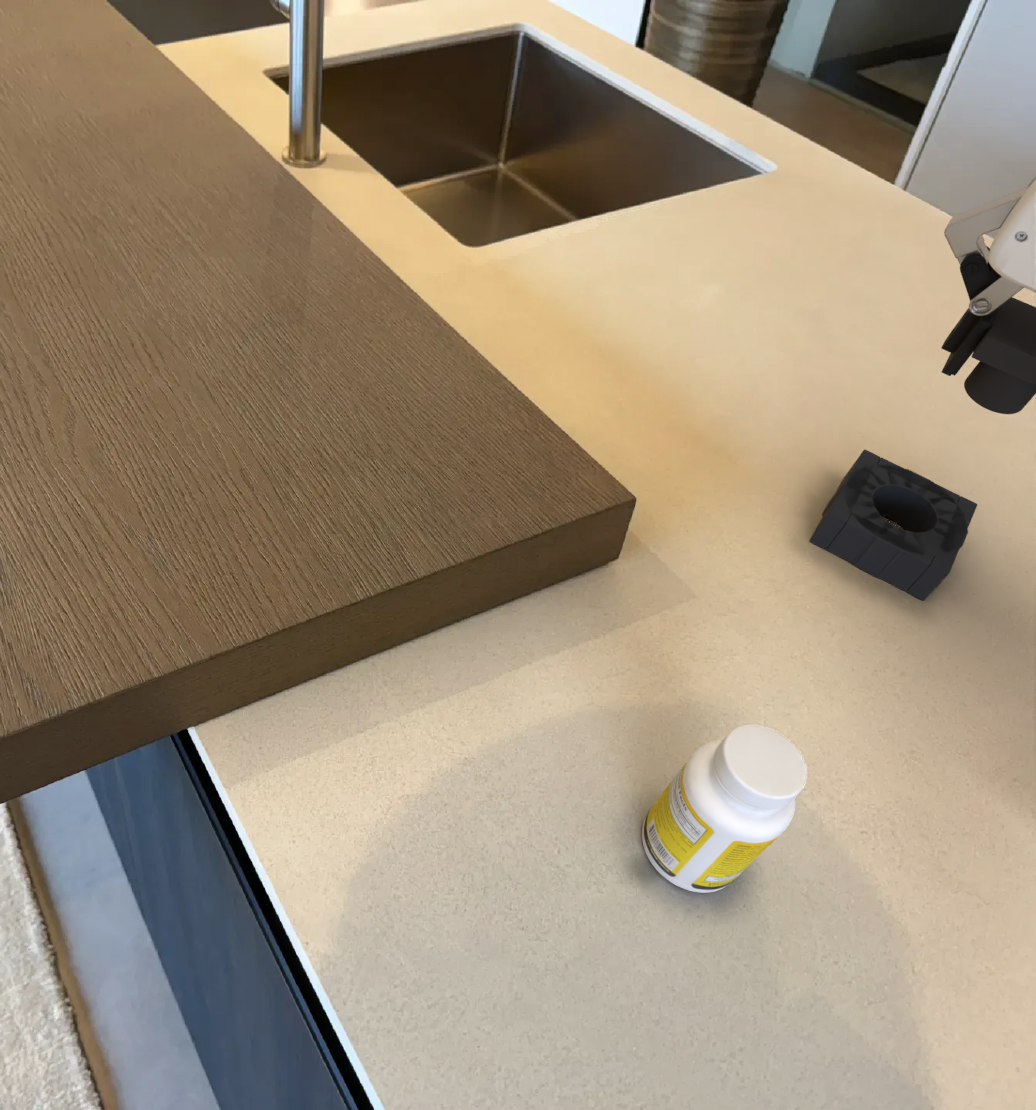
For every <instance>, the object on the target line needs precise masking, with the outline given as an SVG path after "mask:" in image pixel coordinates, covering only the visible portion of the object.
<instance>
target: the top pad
mask: <svg viewBox="0 0 1036 1110" xmlns="http://www.w3.org/2000/svg"><path fill="white" fill-rule="evenodd" d="M971 358H972V359H974V360H977V361H978V363H977V364H976V366H975V367H974V368H973V369H972V370H971V372H970V373H969V375H968V376H967V377H966V378H965V380H964V383H963V384H964V385H963V388H964V390H965V393H966V394H967V396H968V397H969V398H970V399H971V400H972V401H973V402H975V403H976V404H977V405H978V406H980V407H982V408H984V409H986V410H988V411H991V412H993V413H996V414H1001V415H1015V414H1017V413H1019V412H1021V411H1022V410H1023V409H1024V408H1025V407H1026V406H1027V404H1028V403H1029V402H1030V401H1032V399H1033V398H1034V397H1035V395H1036V306H1035V305H1032V304H1029V303H1027V302H1024V301H1022V300H1020V299H1018V298H1015V297H1014V296H1012V297H1011V298H1010V299H1008V300H1007V301H1006V302H1004V304H1003V306H1002V308H1001V310H1000V312H999V315H998V317H997V319H996V321H995V323H994V325H993V327H991V328H990V329H989V331H988V332H987V333H986V335H985V336H984V337H983V339H982V340H981V341H980V343H979V344H978V345H977V346H976V348H975V350H974V352H973V353H972V354H971Z"/></svg>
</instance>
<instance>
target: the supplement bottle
mask: <svg viewBox="0 0 1036 1110" xmlns="http://www.w3.org/2000/svg"><path fill="white" fill-rule="evenodd" d="M796 745H797V744H795V743H794V742H793V741H792V740H791V739H790V738H789V737H787V736H786V735H784V734H783V733H782V732H780V731H778V730H776V729H774V728H772V727H769V726H766V725H763V724H759V723H758V724H757V723H747V724H742V725H739V726H737V727H734V728H733V729H731V730H730V731H729V732H728V734H726V736H725V737H724V738H723V739H717V740H712V741H709V742H707V743H705V744H703V745H702V746H700V747H698V748H697V749H696V750H695V751H694V752H693V753H692V755H690V756H689V757H688V759H687V760H686V762H685V763H684V764H683V766H682V767H681V768H680V770H679V771H678V772H677V774H676V775H675V776H674V777H673V778H672V780H671V781H670V783H669V784H668V785H667V786H666V788H665V789H664V790H663V791H662V793H661V794H660V796H659V797H658V798H657V800H656V801H655V802H654V804H653V805H652V806H651V808H649V810H648V812H647V814H646V816H645V817H644V820H643V824H642V830H641V839H642V840H641V841H642V845H643V849H644V852H645V854H646V857H647V858H648V860H649V862H650V863H651V865H652V866H653V867H654V868H655V870H656V871H657V872H658V873H659V874H660V875H661V876H662V877H663V878H664V879H665V880H667V881H668V882H670V883H671V884H672V885H675V886H676V887H679V888H681V889H683V890H685V891H689V892H694V893H699V894H700V893H702V894H703V893H704V894H705V893H714V892H717V891H720V890H723V889H724V888H726V887H728V886H729V885H730V884H731V883H733V882H734V881H735V880H736V879H737V878H738V877H739V876H740V875H741V874H742V873H743V872H744V871H745V870H746V869H747V868H748V867H749V866H750V865H751V864H752V863H753V862H754V861H755V860H756V859H757V858H758V857H759V856H760V855H761V854H762V853H763V852H764V851H766V849H767V848H769V846H770V845H772V843H773V842H775V841H776V840H777V839H778V838H779V837H780V836H781V835H782V834H783V833H784V832H785V831H786V829H788V827H789V826H790V824H791V823H792V821H793V818H794V816H795V810H796V805H797V803H796V797H797V796H798V795H799V794H800V793H801V792H802V791H803V790H804V787H805V786H806V783H807V780H808V766H807V763H806V760H805V758H804V756H803V753H802V752H801V750H800V749H799V748H798V746H796Z"/></svg>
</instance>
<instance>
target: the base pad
mask: <svg viewBox="0 0 1036 1110" xmlns="http://www.w3.org/2000/svg"><path fill="white" fill-rule="evenodd" d="M977 508H978V503H976V502H974V501H972V500H971V499H968V498H966V497H964V496H961V495H960V494H958V493H956V492H953V491H952V490H951V489H948V488H947V487H946V488H945V487H944V486H941V485H939V484H938V483H935V482H934V481H932V480H931V479H928V478H926V477H925V476H924V475H921V474H918V473H916V472H915V471H912V470H911V469H908V468H904V467H902V466H900V465H898V464H897V463H894V462H893V461H890V460H888V459H886V458H884V457H881V456H879V455H878V454H876V453H874V452H871V451H870V450H867V449H863V450H862V452H861V453H860V454H859V456H858V457H857V459H856V460H855V461H854V462H853V464H852V466H851V467H850V468H849V470H848V471H847V472H846V474H845V475H844V477H843V478H842V480H841V482H840V484H839V486H838V487H837V489H836V491H835V492H834V494H833V495H832V496H831V498H830V499H829V500H828V503H827V505H826V506H825V508H824V509H823V512H822V514H821V515H822V517H821V519H820V520H819V522H818V524H817V526H816V527H815V528H814V531H813V533H812V535H811V537H810V538H809V542H810V543H812V544H814V545H816V546H818V547H820V548H821V549H823V550H826V551H827V552H829V553H831V554H833V555H835V556H837V557H839V558H841V559H842V560H845V561H846V562H848V563H850V564H851V565H852V566H854V567H856V568H858V569H860V570H861V571H863V572H865V573H867V574H869V575H871V576H873V577H875V578H877V579H880V580H882V581H885V582H886V583H888V584H890V585H892V586H894V587H896V588H898V589H900V590H902V591H904V592H906V593H908V594H909V595H911V596H913V597H914V598H917V599H919V600H921V601H922V602H924V601H925V600H927V598H928V597H929V596H930V595H931V594H932V593H933V592H934V591H935V590H936V588H938V587H939V585H940V584H941V583H942V582H943V581H944V580H945V579H946V578H947V577H948V576H949V575H950V573H951V570H952V568H953V565H954V563H955V560H956V558H957V556H958V553H959V550H960V549H962V548H963V546H964V543H965V541H966V539H967V537H968V534H969V526H970V524H971V522H972V519H973V517H974V514H975V512H976V509H977ZM886 518H888V519H889V520H892V521H893V522H895V523H896V524H898V526H900V527H901V528H900V527H898V526H896V525H894V524H892V523H891V522H889V521H888V520H887V519H886Z"/></svg>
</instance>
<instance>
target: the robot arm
mask: <svg viewBox="0 0 1036 1110" xmlns="http://www.w3.org/2000/svg"><path fill="white" fill-rule="evenodd" d="M996 230H998V231H997V232H996V234H995V236H994V238H993V240H992V242H991V244H990V247H989V246H987V245H986V242H985V238H984V235H985V234H988V233H990V232H993V231H996ZM943 232H944V237H945V240H946V241H947V243H948V245H949V248H950V249H951V251H952V254H953V256H954V258H955V259H956V260H957V261H958V264H959V271H960V275H961V278H962V280H963V284H964V287H965V290H966V293H967V295H968V298H969V299H968V300H969V304H968V308H967V309H966V310H965V312H964V313H963V315H962V316H961V318H960V319H959V320H958V322H957V323H956V324H955V326H954V327H953V328H952V330H951V331H950V332H949V334H948V336H947V337H946V338H945V340H944V342H943V343H942V346H941V347H940V349H941V350H944V351H946V352H948V353H949V355H948V357H947V359H946V362H945V363H944V365H943V368H942V369H941V373H942V374H944V375H946V376H948V377H951V376H956V375H957V374H958V373H959V372H960V370H961V369H962V368H963V366H964V365H965V364H966V363H967V361H968V359H969V358H971V357H972V354H973V352H974V350H975V348H976V346H977V345H978V344H979V343H980V341H981V340H982V339H983V337H984V336H985V335H986V333H987V332H988V331H989V329H990V328H991V327H993V325H994V323H995V321H996V319H997V317H998V315H999V312H1000V310H1001V308H1002V306H1003V304H1004V302H1006V301H1007V300H1008V299H1010V298H1011V297H1014V296H1015V295H1016V294H1018V293H1019V292H1020V291H1022V290H1023V289H1026V290H1028V291H1031V292H1033V293H1036V175H1035V176H1034V177H1033V179H1032V180H1031V181H1030V182H1029V184H1028V185H1027V186H1026V187H1024V188H1021V189H1019V190H1015V191H1013V192H1011V193H1008V194H1006V195H1003V196H1000V197H997V198H995V199H993V200H991V201H988V202H986V203H983V204H980V205H977V206H975V207H972V208H970V209H967V210H965V211H963V212H960V213H958V214H955V215H953V216H952V217H951V218H950V220H949V221H948V223H947V225H946V226H945V228H944V231H943Z"/></svg>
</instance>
